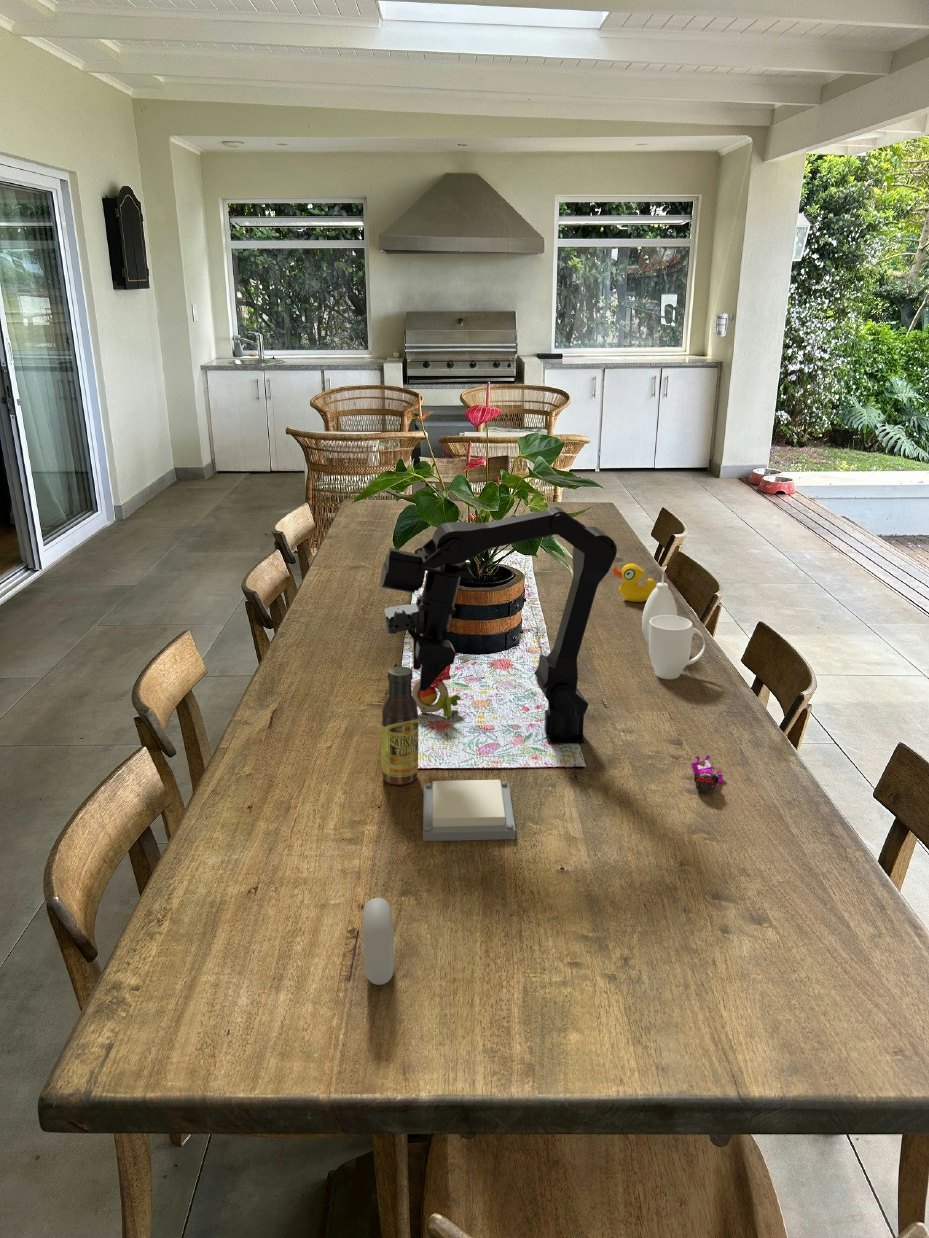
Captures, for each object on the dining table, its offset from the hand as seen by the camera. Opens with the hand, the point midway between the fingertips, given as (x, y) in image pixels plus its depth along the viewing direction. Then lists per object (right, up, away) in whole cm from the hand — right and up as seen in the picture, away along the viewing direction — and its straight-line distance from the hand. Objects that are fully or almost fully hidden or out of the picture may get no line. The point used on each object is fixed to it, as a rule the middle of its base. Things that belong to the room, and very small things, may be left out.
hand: (419, 679), depth 162 cm
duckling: (+52, +15, +79) cm, 96 cm away
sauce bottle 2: (+52, +4, +49) cm, 72 cm away
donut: (-2, -33, -49) cm, 59 cm away
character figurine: (+49, -17, -6) cm, 52 cm away
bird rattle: (+2, -8, +18) cm, 20 cm away
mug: (+53, -1, +35) cm, 63 cm away
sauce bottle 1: (-3, -17, -5) cm, 18 cm away
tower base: (+8, -20, -16) cm, 27 cm away
